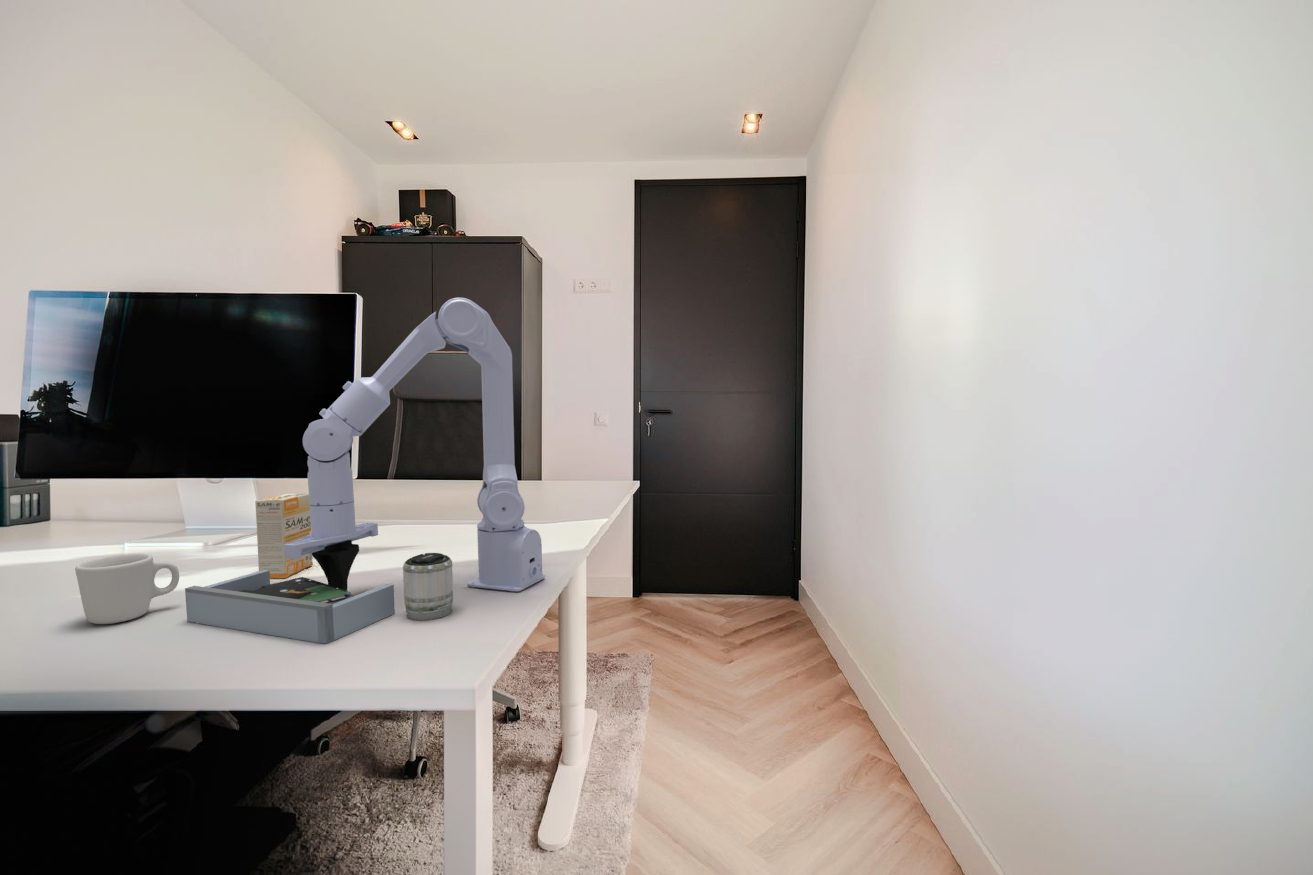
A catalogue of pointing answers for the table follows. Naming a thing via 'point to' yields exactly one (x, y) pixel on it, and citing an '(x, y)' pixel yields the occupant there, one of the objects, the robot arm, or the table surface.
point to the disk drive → (304, 591)
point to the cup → (120, 586)
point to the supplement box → (282, 532)
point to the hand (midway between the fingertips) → (337, 595)
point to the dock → (284, 610)
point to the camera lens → (428, 586)
